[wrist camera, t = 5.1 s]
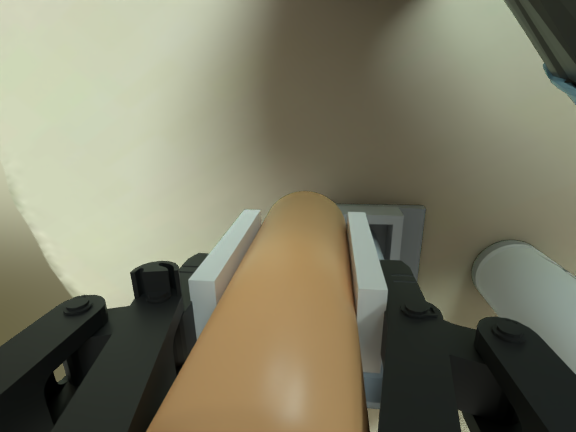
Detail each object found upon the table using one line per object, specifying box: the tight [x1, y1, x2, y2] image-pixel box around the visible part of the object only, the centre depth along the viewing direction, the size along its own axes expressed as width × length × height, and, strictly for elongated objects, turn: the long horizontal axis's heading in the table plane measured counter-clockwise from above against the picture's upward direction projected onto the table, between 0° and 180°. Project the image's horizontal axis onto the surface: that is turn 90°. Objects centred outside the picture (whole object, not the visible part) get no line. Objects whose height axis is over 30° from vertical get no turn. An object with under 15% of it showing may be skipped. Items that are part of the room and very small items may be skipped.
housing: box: [336, 204, 426, 409], centre depth 33 cm, size 20×12×4 cm, turn 1°
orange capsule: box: [146, 191, 370, 432], centre depth 11 cm, size 4×4×12 cm
